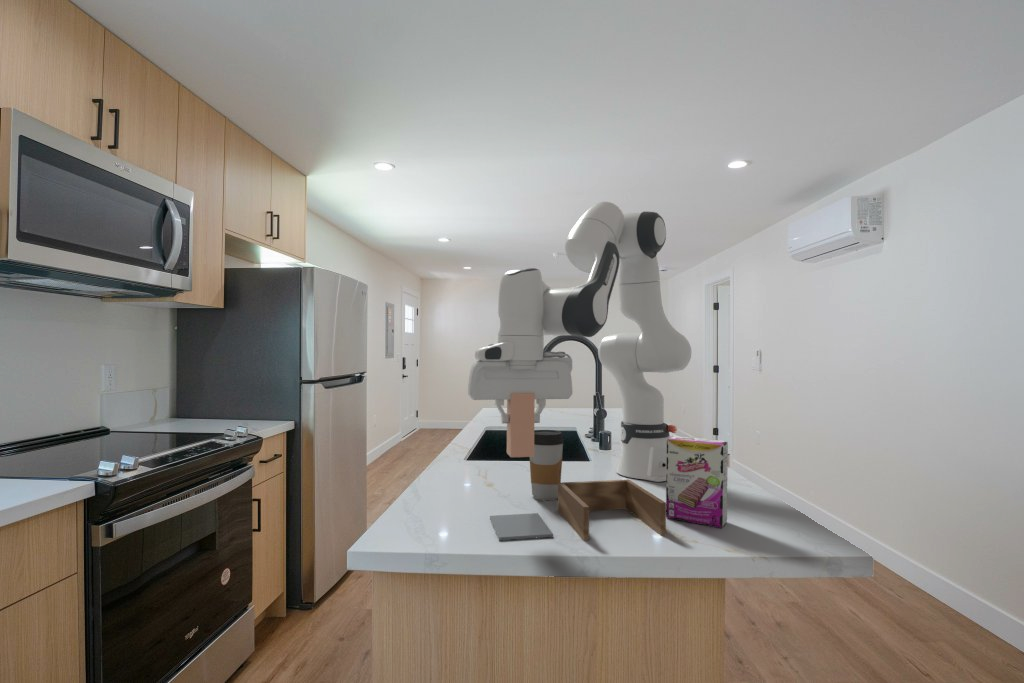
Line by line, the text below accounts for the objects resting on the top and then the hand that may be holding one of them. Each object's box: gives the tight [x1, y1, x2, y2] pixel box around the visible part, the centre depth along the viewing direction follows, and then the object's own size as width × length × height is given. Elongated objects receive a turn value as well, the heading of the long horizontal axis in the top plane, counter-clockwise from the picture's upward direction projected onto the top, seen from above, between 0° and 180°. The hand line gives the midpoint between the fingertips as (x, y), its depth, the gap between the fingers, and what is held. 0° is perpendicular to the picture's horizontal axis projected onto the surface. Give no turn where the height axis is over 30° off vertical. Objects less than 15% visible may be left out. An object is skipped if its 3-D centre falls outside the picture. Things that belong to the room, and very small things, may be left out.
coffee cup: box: [529, 429, 564, 501], centre depth 120 cm, size 8×8×15 cm
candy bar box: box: [665, 435, 729, 529], centre depth 104 cm, size 11×5×16 cm, turn 58°
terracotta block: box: [506, 393, 536, 458], centre depth 100 cm, size 4×4×12 cm
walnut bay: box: [557, 479, 667, 541], centre depth 103 cm, size 16×17×6 cm
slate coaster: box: [489, 512, 554, 541], centre depth 100 cm, size 10×12×1 cm
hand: (520, 422), depth 100 cm, fingers closed on terracotta block, 4 cm apart
